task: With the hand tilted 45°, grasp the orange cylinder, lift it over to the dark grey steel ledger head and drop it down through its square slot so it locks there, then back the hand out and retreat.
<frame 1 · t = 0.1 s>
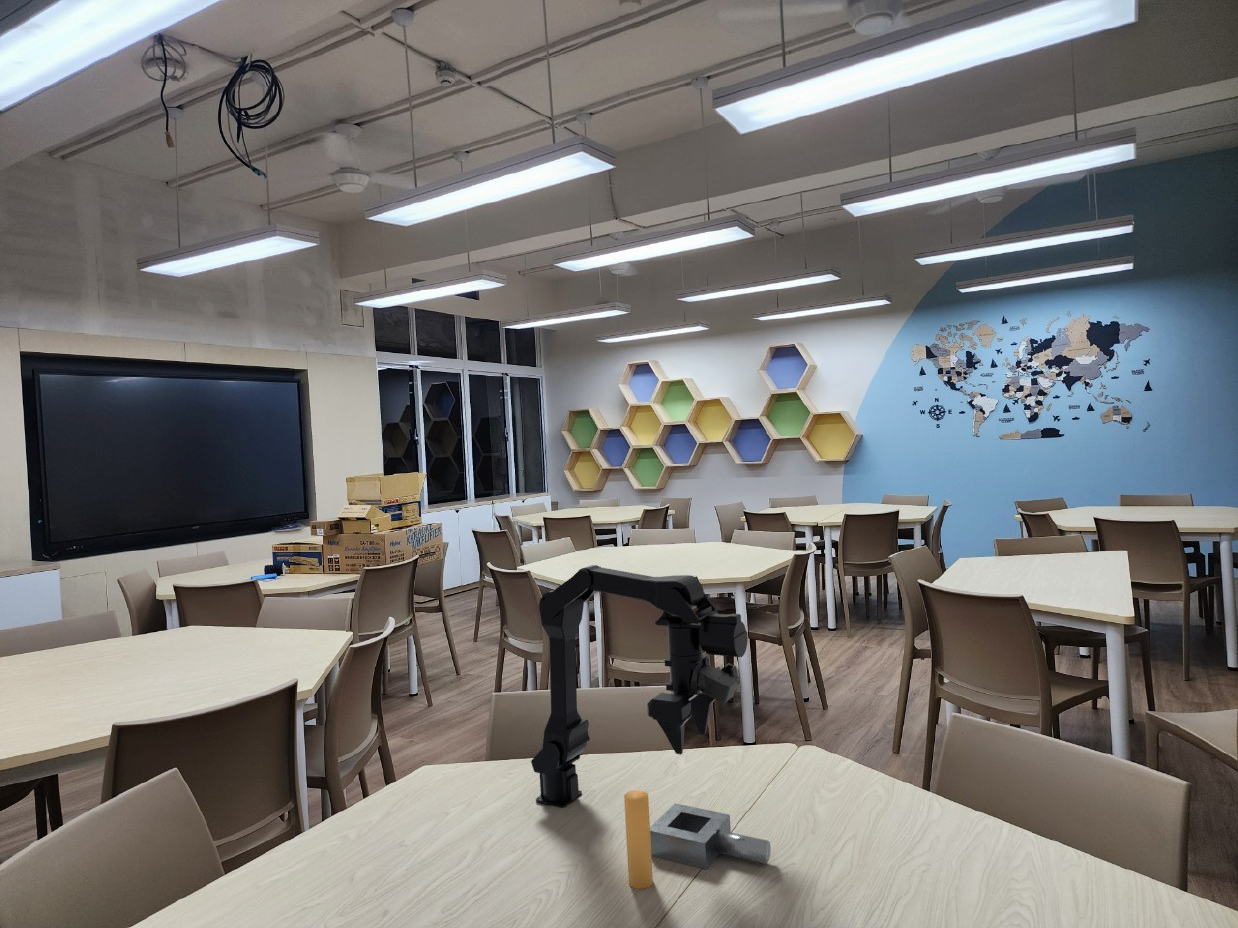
hand: (691, 743, 128), 14 cm above the table, tool pointing down, fingers open, 9 cm apart
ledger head: (690, 846, 122), on the table
orange cylinder: (640, 881, 113), on the table
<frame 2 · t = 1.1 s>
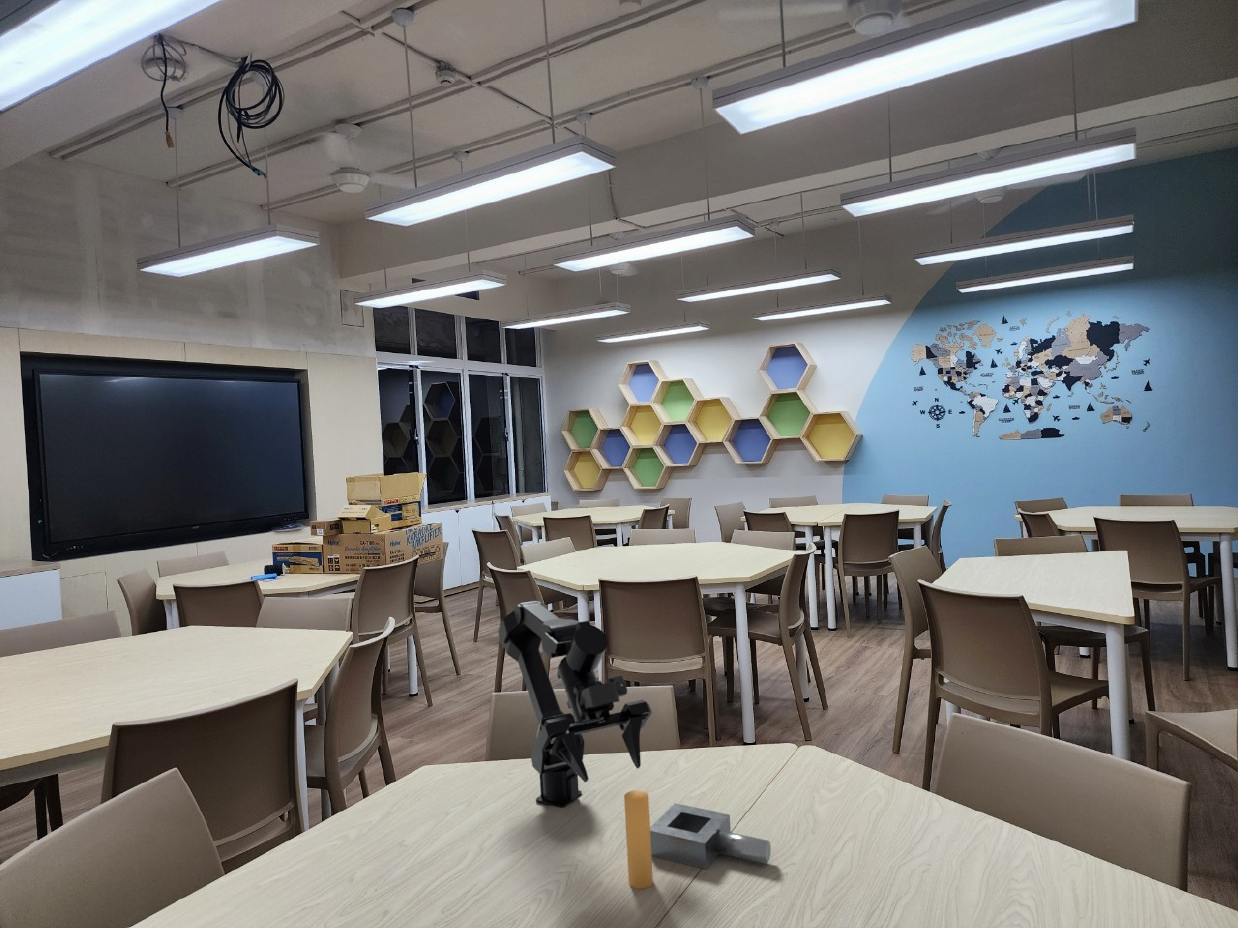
hand: (613, 773, 120), 13 cm above the table, tool tilted 45°, fingers open, 9 cm apart
nothing on the table moved.
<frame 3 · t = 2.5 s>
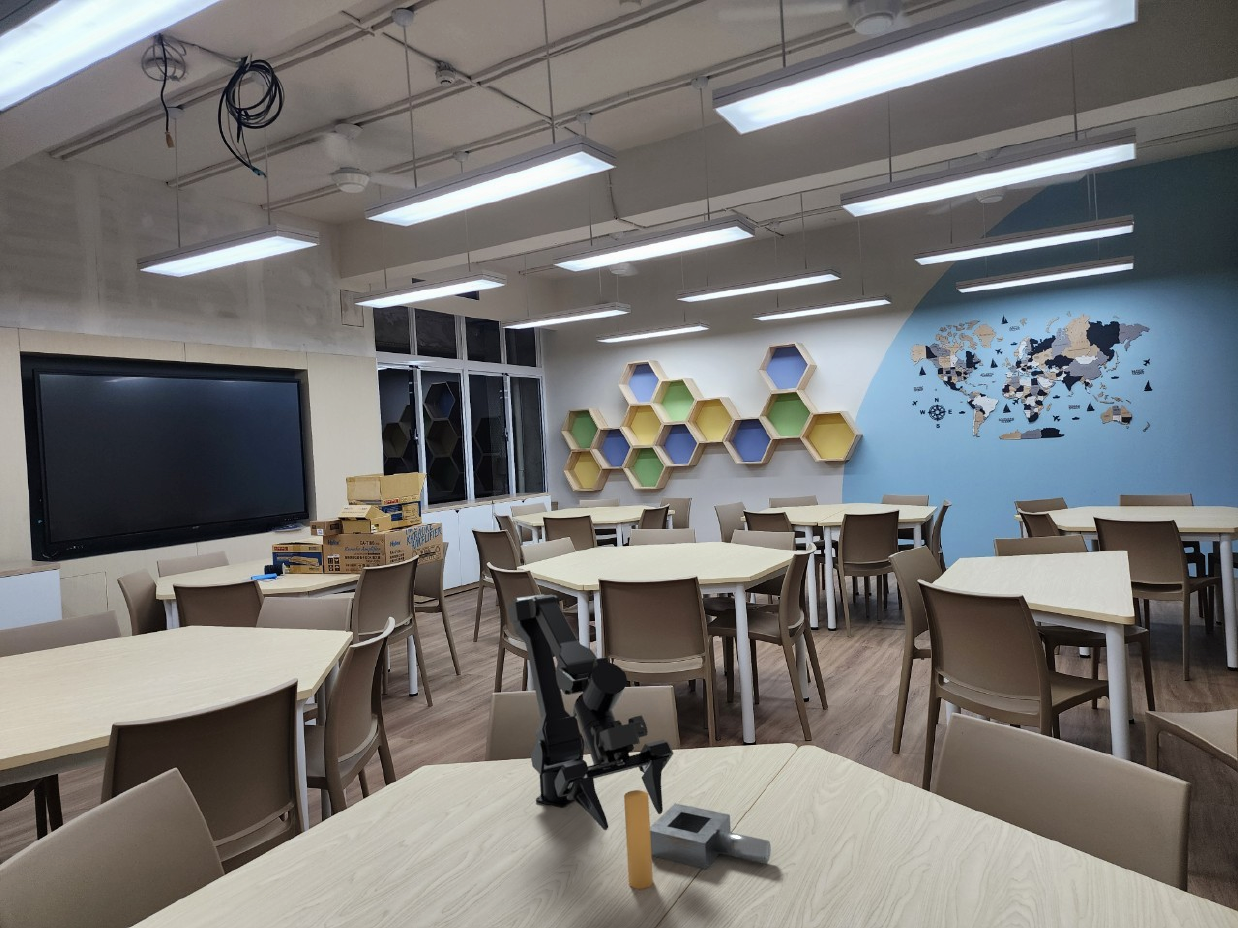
hand: (634, 820, 114), 9 cm above the table, tool tilted 45°, fingers open, 9 cm apart
nothing on the table moved.
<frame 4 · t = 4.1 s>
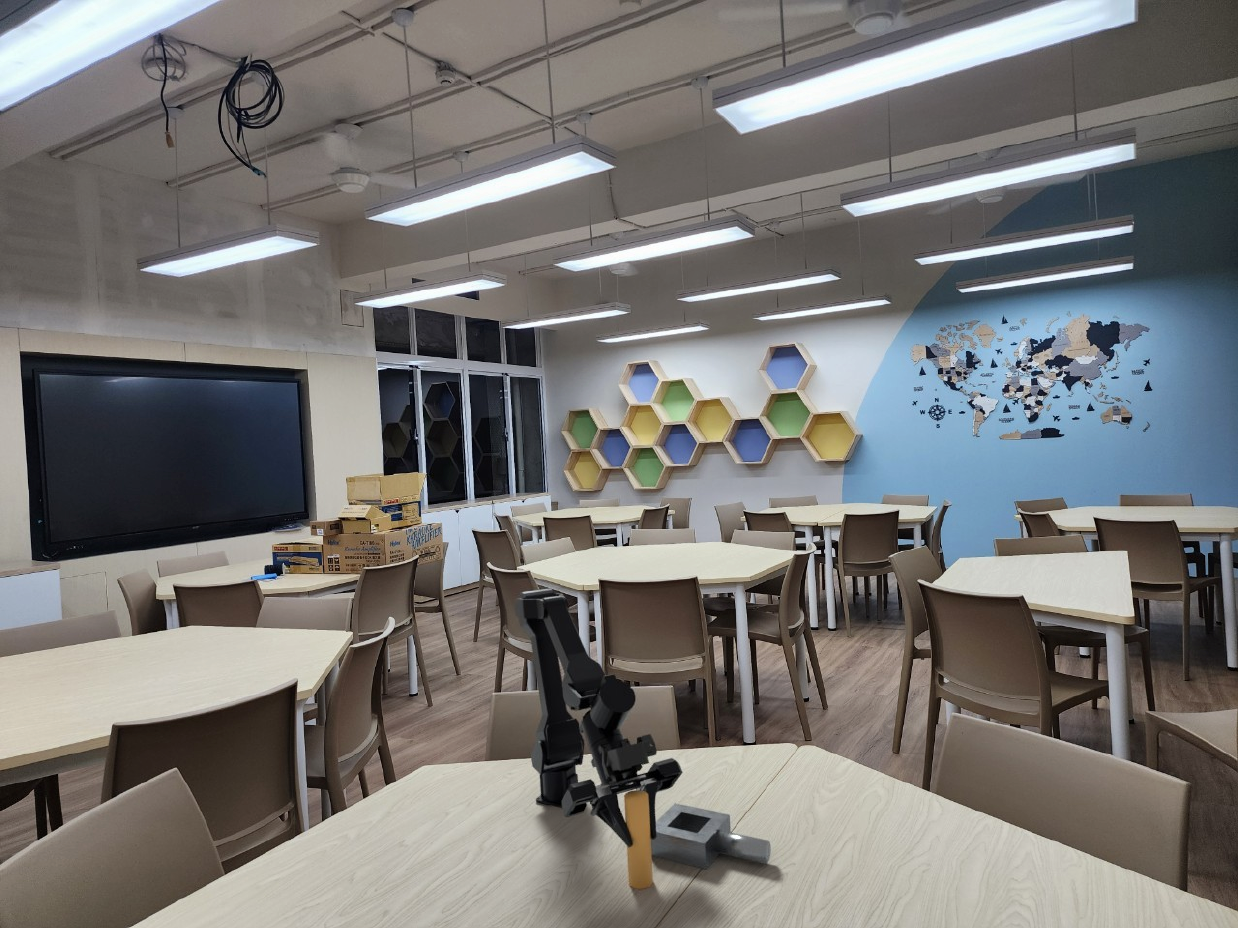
hand: (642, 842, 112), 7 cm above the table, tool tilted 45°, fingers closed on orange cylinder, 4 cm apart
orange cylinder: (640, 881, 113), on the table, touching gripper
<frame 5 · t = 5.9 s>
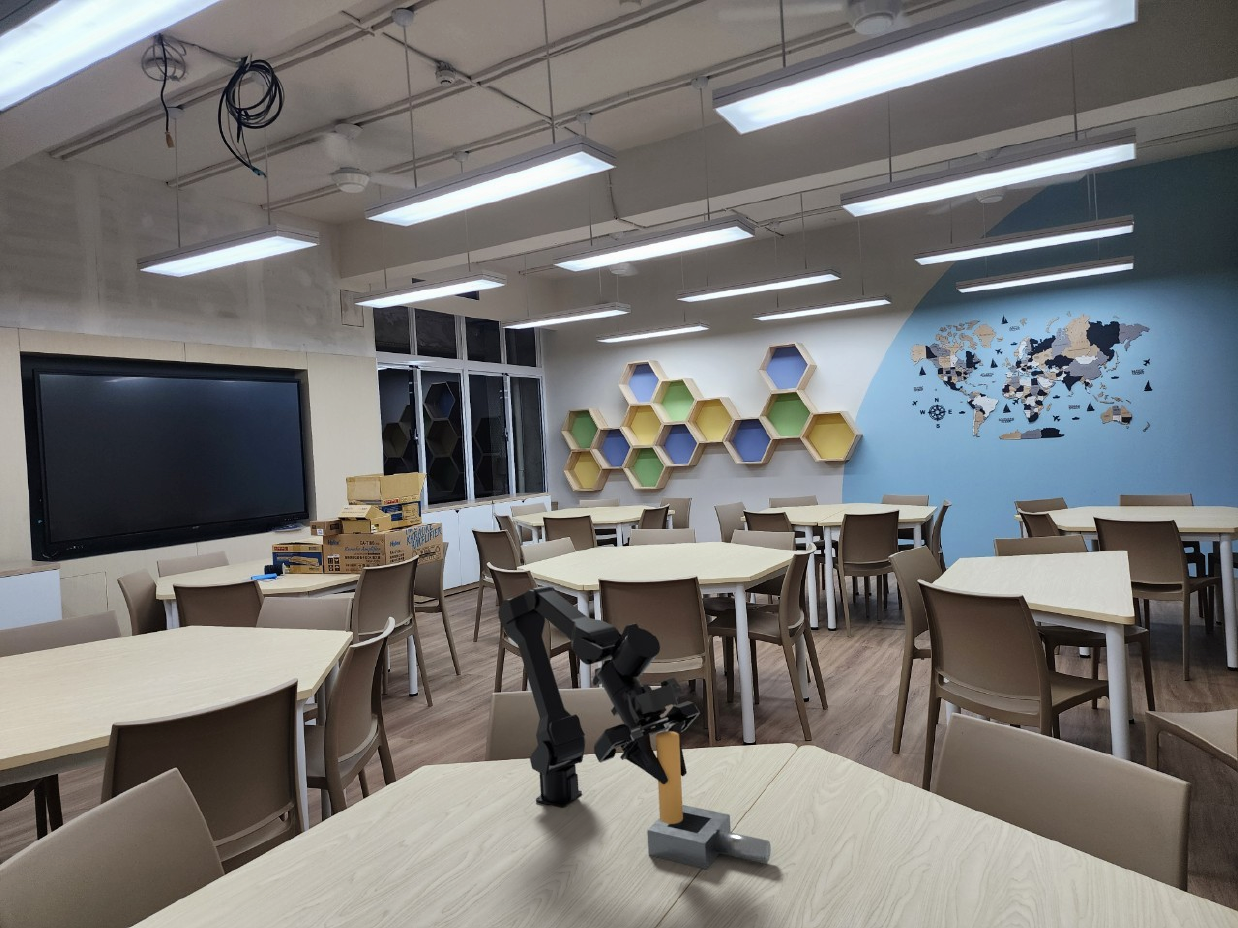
hand: (675, 778, 117), 13 cm above the table, tool tilted 45°, fingers closed on orange cylinder, 4 cm apart
orange cylinder: (671, 817, 118), point 7 cm above the table, touching gripper
when the fingers open (9 cm above the table, at t = 7.8 s): orange cylinder drops 2 cm, resting in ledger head.
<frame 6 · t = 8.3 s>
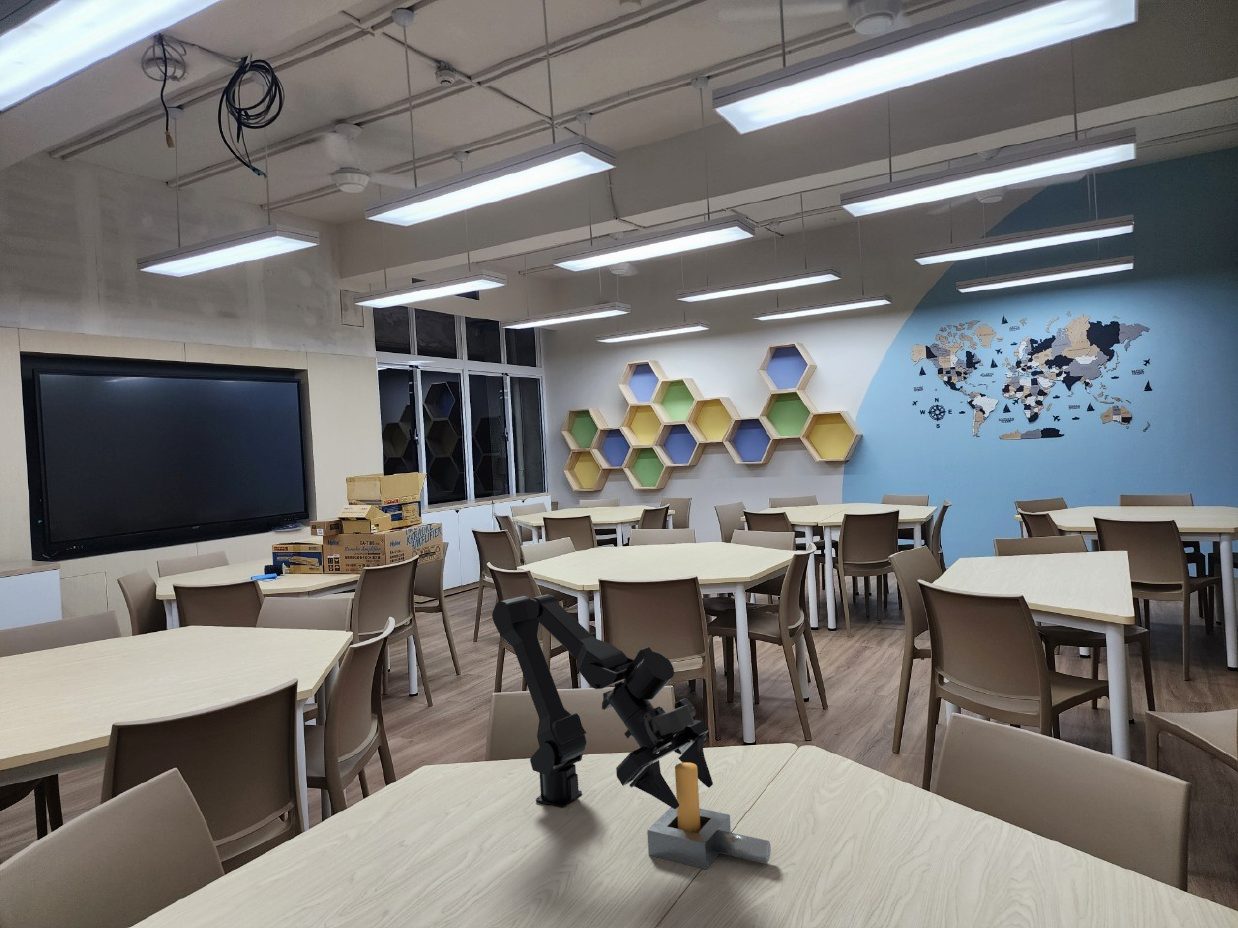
hand: (694, 796, 121), 9 cm above the table, tool tilted 45°, fingers open, 9 cm apart
orange cylinder: (690, 846, 122), resting in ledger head
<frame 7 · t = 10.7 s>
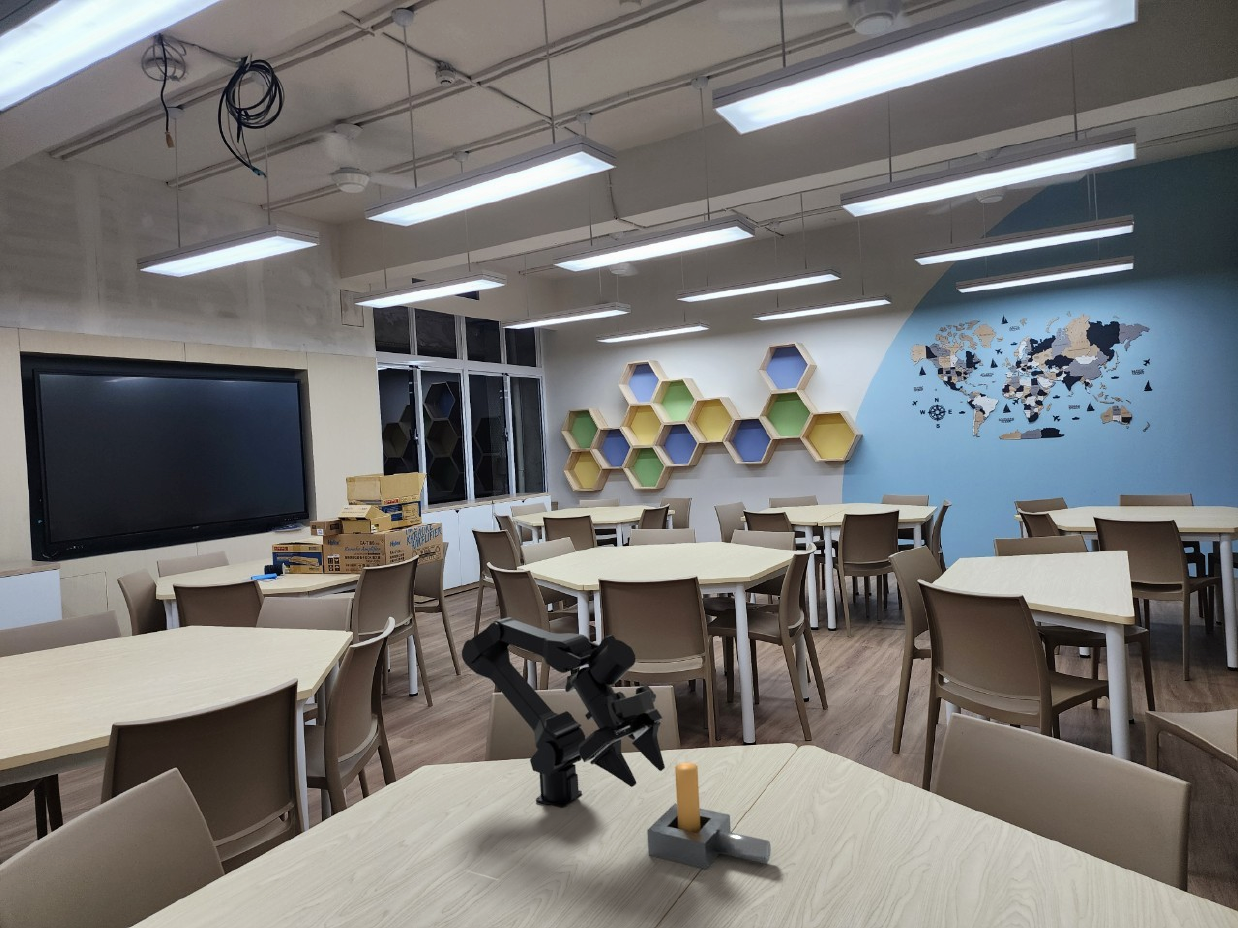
hand: (649, 777, 128), 9 cm above the table, tool tilted 40°, fingers open, 9 cm apart
nothing on the table moved.
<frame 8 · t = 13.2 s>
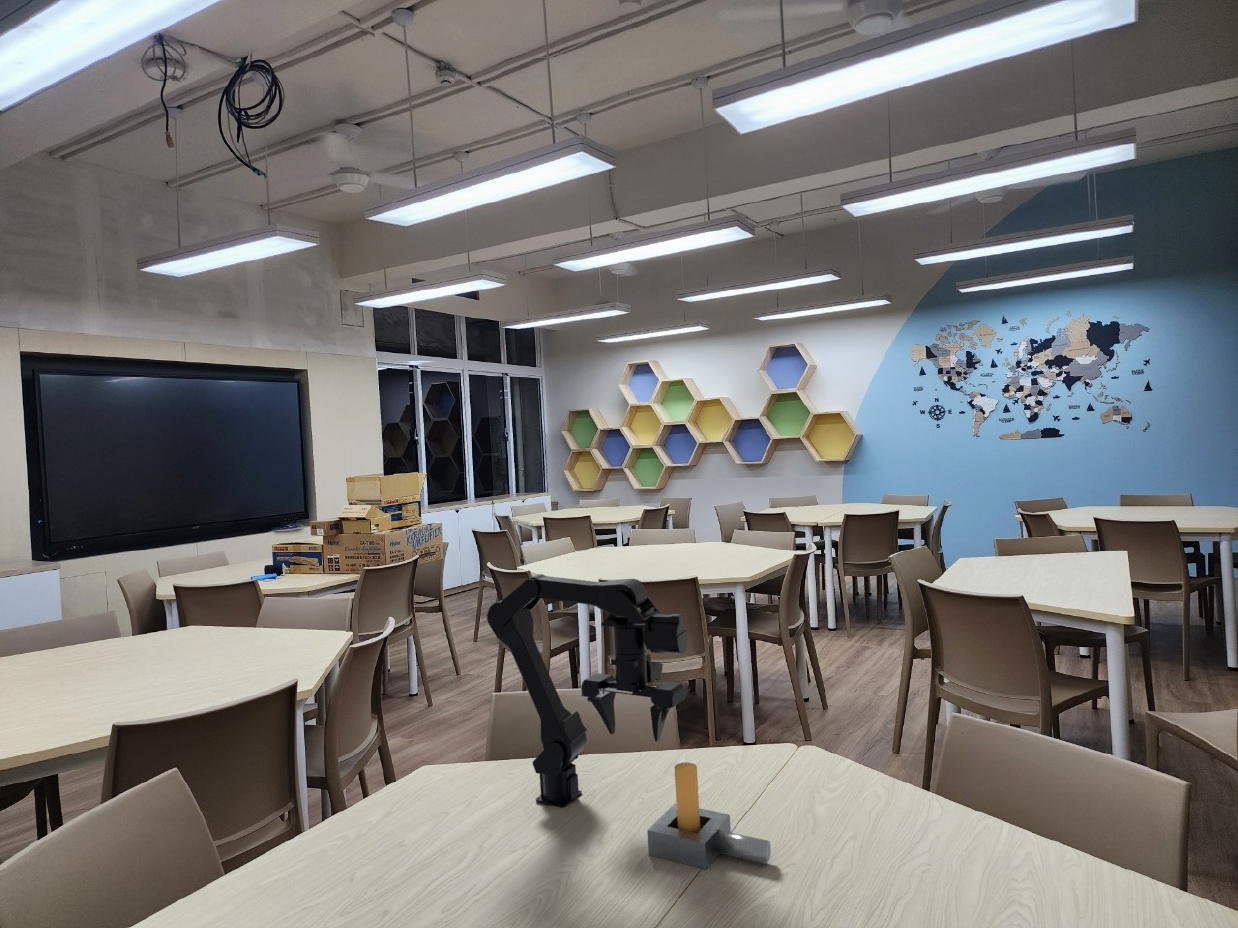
hand: (634, 737, 136), 13 cm above the table, tool pointing down, fingers open, 9 cm apart
nothing on the table moved.
at the end: orange cylinder 0.0 cm off-centre on the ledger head, point 0.0 cm above the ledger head's base; orange cylinder tilted 0°; the gripper is holding nothing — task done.
